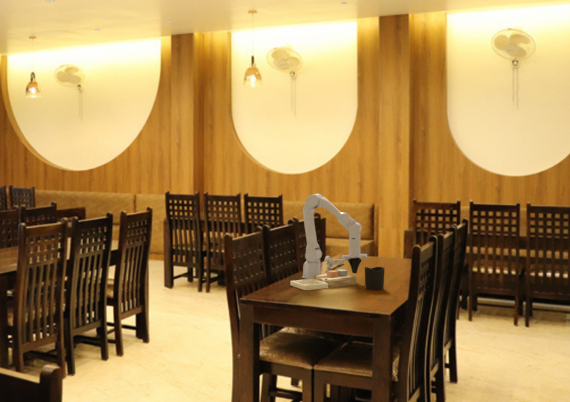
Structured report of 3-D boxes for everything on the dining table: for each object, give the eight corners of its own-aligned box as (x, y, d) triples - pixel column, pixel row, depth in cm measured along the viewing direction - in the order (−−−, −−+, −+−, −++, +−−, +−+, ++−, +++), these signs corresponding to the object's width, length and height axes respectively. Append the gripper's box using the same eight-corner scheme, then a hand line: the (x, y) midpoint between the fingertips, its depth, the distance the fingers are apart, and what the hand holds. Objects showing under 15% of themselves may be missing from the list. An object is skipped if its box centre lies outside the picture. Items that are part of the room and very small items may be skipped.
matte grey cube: (336, 276, 322) (336, 270, 322) (342, 276, 324) (342, 269, 324) (340, 278, 318) (340, 271, 318) (347, 277, 320) (347, 270, 320)
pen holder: (368, 286, 314) (368, 265, 313) (386, 287, 310) (387, 267, 309) (361, 289, 306) (361, 268, 305) (380, 291, 301) (380, 270, 301)
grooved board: (313, 282, 321) (313, 275, 321) (340, 280, 329) (340, 272, 329) (329, 287, 309) (329, 279, 309) (356, 284, 317) (356, 276, 317)
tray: (290, 285, 315) (290, 281, 315) (313, 283, 321) (313, 278, 321) (305, 290, 303) (305, 285, 302) (328, 287, 309) (328, 283, 309)
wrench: (344, 269, 383) (326, 270, 355) (341, 268, 383) (323, 270, 356) (344, 255, 383) (327, 256, 356) (341, 255, 384) (324, 256, 356)
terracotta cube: (326, 277, 319) (326, 270, 319) (333, 277, 321) (333, 270, 321) (331, 279, 316) (331, 272, 315) (338, 278, 318) (338, 271, 317)
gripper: (347, 248, 317) (347, 275, 318) (371, 246, 324) (370, 273, 325) (339, 246, 323) (339, 273, 324) (362, 244, 330) (362, 270, 331)
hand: (354, 273), depth 325 cm, fingers closed
